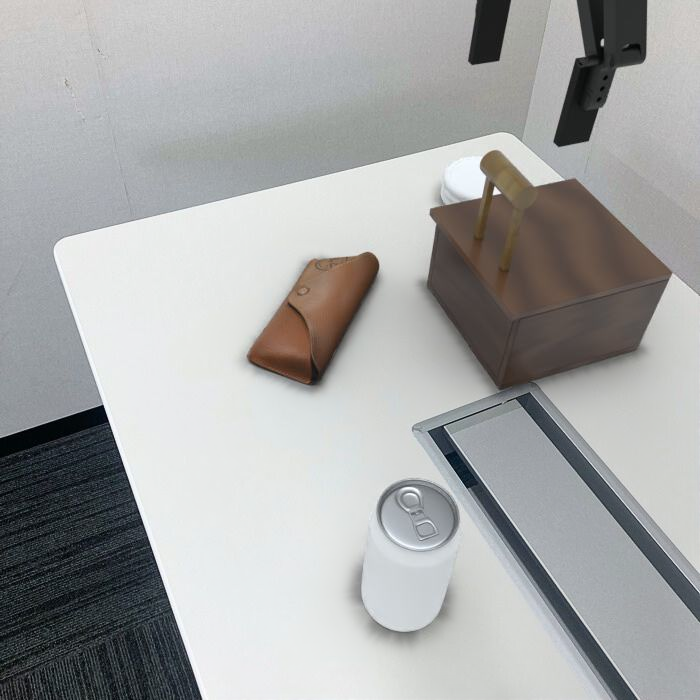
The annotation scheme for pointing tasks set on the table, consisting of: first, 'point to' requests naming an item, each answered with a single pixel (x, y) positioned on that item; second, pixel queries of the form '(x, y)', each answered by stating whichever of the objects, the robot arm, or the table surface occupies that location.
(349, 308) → the sunglasses case
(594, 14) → the robot arm
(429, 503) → the can
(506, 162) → the lid
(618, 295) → the chest
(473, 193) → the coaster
